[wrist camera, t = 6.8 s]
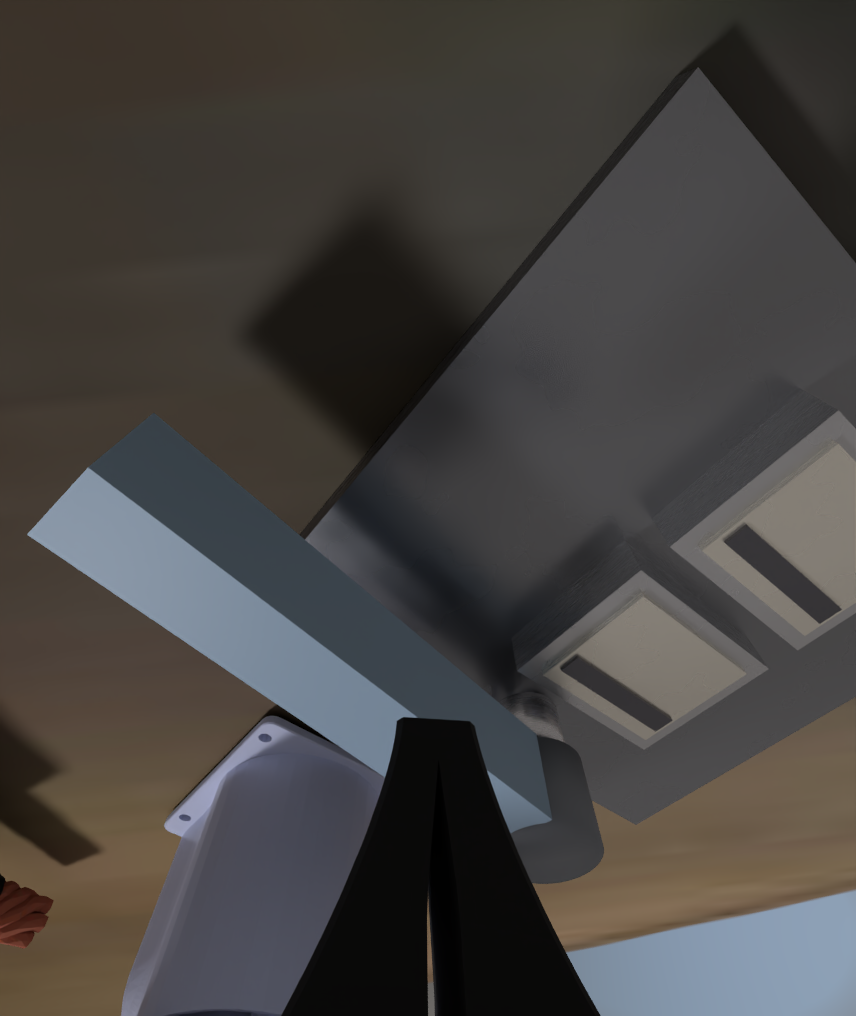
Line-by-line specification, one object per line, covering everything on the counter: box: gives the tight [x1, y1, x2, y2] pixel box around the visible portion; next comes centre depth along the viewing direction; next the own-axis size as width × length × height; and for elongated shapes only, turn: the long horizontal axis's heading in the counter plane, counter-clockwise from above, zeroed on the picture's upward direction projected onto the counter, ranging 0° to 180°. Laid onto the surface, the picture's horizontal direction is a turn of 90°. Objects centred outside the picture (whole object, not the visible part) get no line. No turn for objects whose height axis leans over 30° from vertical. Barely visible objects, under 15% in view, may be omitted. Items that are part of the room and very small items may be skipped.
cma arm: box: [27, 413, 604, 884], centre depth 15 cm, size 18×3×3 cm, turn 42°
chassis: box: [300, 67, 856, 824], centre depth 18 cm, size 18×19×3 cm
